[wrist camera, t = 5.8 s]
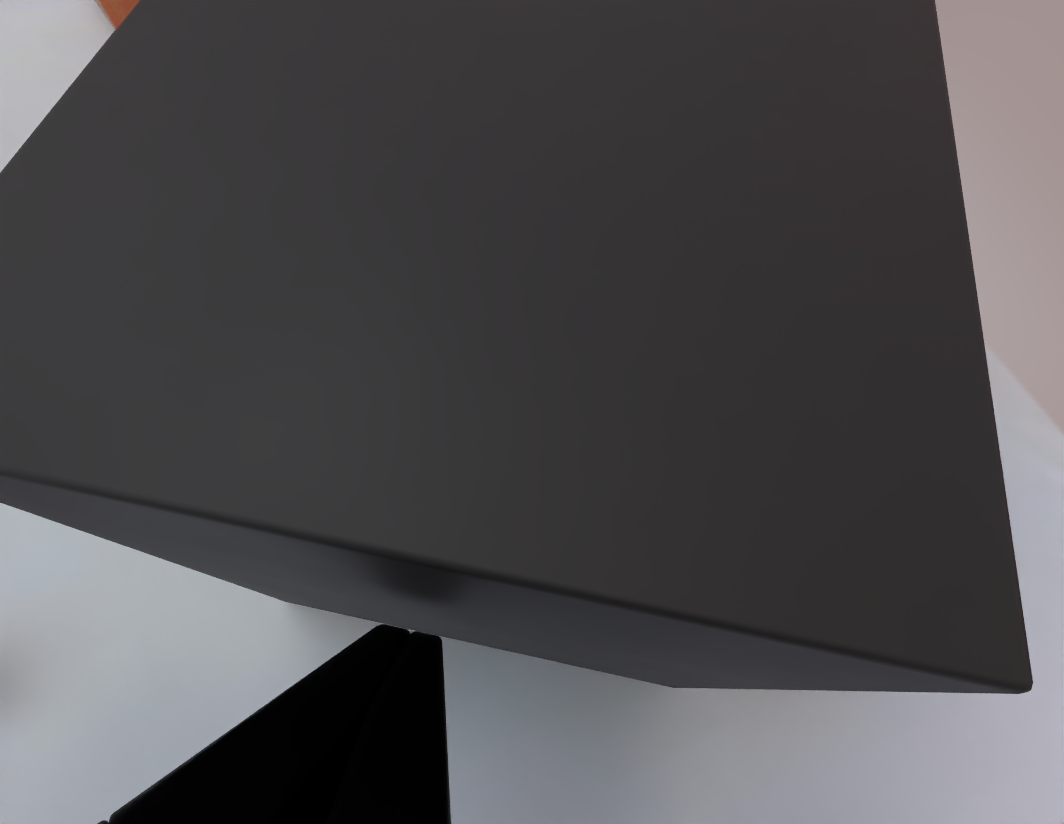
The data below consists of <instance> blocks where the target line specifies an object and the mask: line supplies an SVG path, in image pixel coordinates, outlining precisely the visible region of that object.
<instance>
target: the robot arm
mask: <svg viewBox="0 0 1064 824" xmlns="http://www.w3.org/2000/svg"><path fill="white" fill-rule="evenodd" d="M98 824H451V814H450V794H449V773H448V752H447V731H446V710H445V690H444V669H443V648H442V640H441V638H440V637H439V636H435V635H431V634H426V633H422V632H417V631H415V632H412V633H411V634H410V632H409V631H408V630H407V629H403V628H399V627H394V626H390V625H385V624H382V625H379V626H376V627H375V628H373V629H372V630H371V631H369V632H368V633H366V634H365V635H363V636H362V637H361V638H359V639H358V640H356V641H355V642H354V643H352V644H351V645H349V646H348V647H347V648H345V649H344V650H342V651H341V652H340V653H338V654H337V655H335V656H334V657H332V658H331V659H330V660H328V661H327V662H325V663H324V664H323V665H321V666H320V667H318V668H317V669H316V670H314V671H313V672H311V673H310V674H309V675H307V676H306V677H304V678H303V679H301V680H300V681H299V682H297V683H296V684H294V685H293V686H292V687H290V688H289V689H287V690H286V691H285V692H283V693H282V694H280V695H279V696H278V697H276V698H275V699H273V700H272V701H270V702H269V703H268V704H266V705H265V706H263V707H262V708H261V709H259V710H258V711H256V712H255V713H254V714H252V715H251V716H249V717H248V718H247V719H245V720H244V721H242V722H241V723H239V724H238V725H237V726H235V727H234V728H232V729H231V730H230V731H228V732H227V733H225V734H224V735H223V736H221V737H220V738H218V739H217V740H216V741H214V742H213V743H211V744H210V745H208V746H207V747H206V748H204V749H203V750H201V751H200V752H199V753H197V754H196V755H194V756H193V757H192V758H190V759H189V760H187V761H186V762H185V763H183V764H182V765H180V766H179V767H177V768H176V769H175V770H173V771H172V772H170V773H169V774H168V775H166V776H165V777H163V778H162V779H161V780H159V781H158V782H156V783H155V784H154V785H152V786H151V787H149V788H148V789H146V790H145V791H144V792H142V793H141V794H139V795H138V796H137V797H135V798H134V799H132V800H131V801H130V802H128V803H127V804H125V805H124V806H123V807H121V808H120V809H118V810H117V811H115V812H114V813H113V814H112V815H111V817H110V820H109V823H108V821H105V820H104V821H101V822H99V823H98Z"/></svg>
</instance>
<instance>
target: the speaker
mask: <svg viewBox="0 0 1064 824" xmlns="http://www.w3.org/2000/svg"><path fill="white" fill-rule="evenodd" d="M973 270H974V269H973V263H972V255H971V249H970V242H969V235H968V228H967V221H966V214H965V207H964V200H963V193H962V186H961V179H960V173H959V165H958V158H957V151H956V144H955V137H954V130H953V123H952V117H951V109H950V102H949V96H948V89H947V82H946V75H945V68H944V61H943V54H942V47H941V40H940V33H939V26H938V20H937V12H936V6H935V0H139V1H138V3H137V4H136V5H135V6H134V8H133V9H132V10H131V11H130V13H129V14H128V15H127V16H126V18H125V19H124V20H123V21H122V23H121V24H120V25H119V26H118V28H117V29H116V30H115V31H114V32H113V34H112V35H111V36H110V37H109V39H108V40H107V41H106V42H105V44H104V45H103V46H102V47H101V49H100V50H99V51H98V52H97V54H96V55H95V56H94V57H93V59H92V60H91V61H90V62H89V64H88V65H87V66H86V67H85V68H84V70H83V71H82V72H81V73H80V75H79V76H78V77H77V78H76V80H75V81H74V82H73V83H72V85H71V86H70V87H69V88H68V90H67V91H66V92H65V93H64V95H63V96H62V97H61V98H60V100H59V101H58V102H57V103H56V104H55V106H54V107H53V108H52V109H51V111H50V112H49V113H48V114H47V116H46V117H45V118H44V119H43V121H42V122H41V123H40V124H39V126H38V127H37V128H36V129H35V131H34V132H33V133H32V134H31V136H30V137H29V138H28V139H27V140H26V142H25V143H24V144H23V145H22V147H21V148H20V149H19V150H18V152H17V153H16V154H15V155H14V157H13V158H12V159H11V160H10V162H9V163H8V164H7V165H6V167H5V168H4V169H3V170H2V172H1V173H0V503H3V504H6V505H9V506H12V507H15V508H18V509H21V510H24V511H26V512H29V513H32V514H35V515H38V516H41V517H44V518H47V519H49V520H52V521H55V522H58V523H61V524H64V525H67V526H70V527H72V528H75V529H78V530H81V531H84V532H87V533H90V534H93V535H95V536H98V537H101V538H104V539H107V540H110V541H113V542H116V543H118V544H121V545H124V546H127V547H130V548H133V549H136V550H139V551H141V552H144V553H147V554H150V555H153V556H156V557H159V558H162V559H164V560H167V561H170V562H173V563H176V564H179V565H182V566H185V567H187V568H190V569H193V570H196V571H199V572H202V573H205V574H208V575H210V576H213V577H216V578H219V579H222V580H225V581H228V582H231V583H233V584H236V585H239V586H242V587H245V588H248V589H251V590H254V591H256V592H259V593H262V594H265V595H268V596H271V597H274V598H277V599H279V600H282V601H286V602H290V603H295V604H299V605H304V606H308V607H313V608H317V609H322V610H326V611H331V612H335V613H340V614H344V615H349V616H353V617H358V618H362V619H367V620H371V621H376V622H380V623H385V624H389V625H394V626H398V627H403V628H407V629H412V630H416V631H421V632H425V633H430V634H434V635H439V636H443V637H448V638H452V639H457V640H461V641H466V642H470V643H475V644H479V645H484V646H488V647H493V648H497V649H502V650H506V651H511V652H515V653H520V654H524V655H529V656H533V657H538V658H542V659H547V660H551V661H556V662H560V663H565V664H569V665H574V666H578V667H583V668H587V669H592V670H596V671H601V672H605V673H610V674H614V675H619V676H623V677H628V678H632V679H637V680H641V681H646V682H650V683H655V684H659V685H664V686H669V687H673V688H724V689H780V690H835V691H891V692H946V693H1002V694H1020V693H1025V692H1028V691H1030V690H1031V688H1032V684H1033V680H1032V673H1031V666H1030V659H1029V652H1028V645H1027V638H1026V631H1025V624H1024V617H1023V610H1022V603H1021V596H1020V589H1019V582H1018V575H1017V568H1016V561H1015V555H1014V548H1013V541H1012V534H1011V527H1010V520H1009V513H1008V506H1007V499H1006V492H1005V485H1004V478H1003V471H1002V464H1001V457H1000V450H999V443H998V436H997V429H996V422H995V415H994V408H993V402H992V395H991V388H990V381H989V374H988V367H987V360H986V353H985V346H984V339H983V332H982V326H981V318H980V311H979V304H978V297H977V291H976V284H975V277H974V271H973Z"/></svg>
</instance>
